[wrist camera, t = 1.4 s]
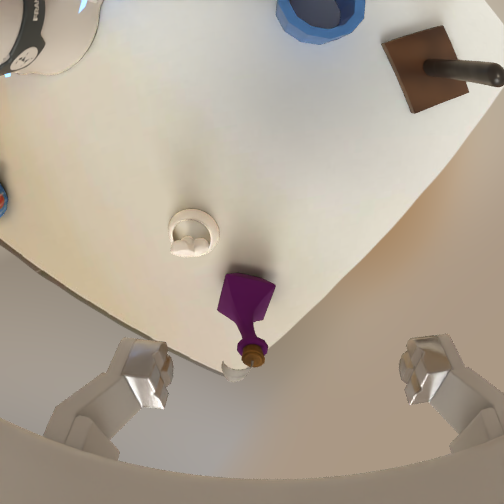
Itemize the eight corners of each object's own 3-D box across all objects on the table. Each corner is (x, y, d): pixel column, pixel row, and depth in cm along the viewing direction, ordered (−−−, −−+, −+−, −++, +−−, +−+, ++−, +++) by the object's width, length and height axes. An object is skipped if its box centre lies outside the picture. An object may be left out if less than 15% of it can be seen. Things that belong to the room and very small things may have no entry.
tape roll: (273, 38, 31) (275, 31, 25) (279, -22, 26) (281, -41, 20) (345, 49, 31) (361, 45, 25) (350, -11, 26) (366, -25, 20)
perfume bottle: (275, 272, 49) (278, 365, 34) (263, 306, 53) (260, 398, 37) (228, 261, 48) (211, 353, 33) (219, 297, 52) (203, 387, 37)
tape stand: (380, 43, 30) (445, 33, 16) (438, 26, 27) (515, 18, 13) (411, 112, 34) (481, 141, 21) (464, 91, 32) (542, 113, 18)
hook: (204, 186, 36) (219, 243, 36) (214, 208, 48) (225, 252, 48) (144, 204, 36) (157, 261, 35) (168, 221, 48) (178, 265, 47)
